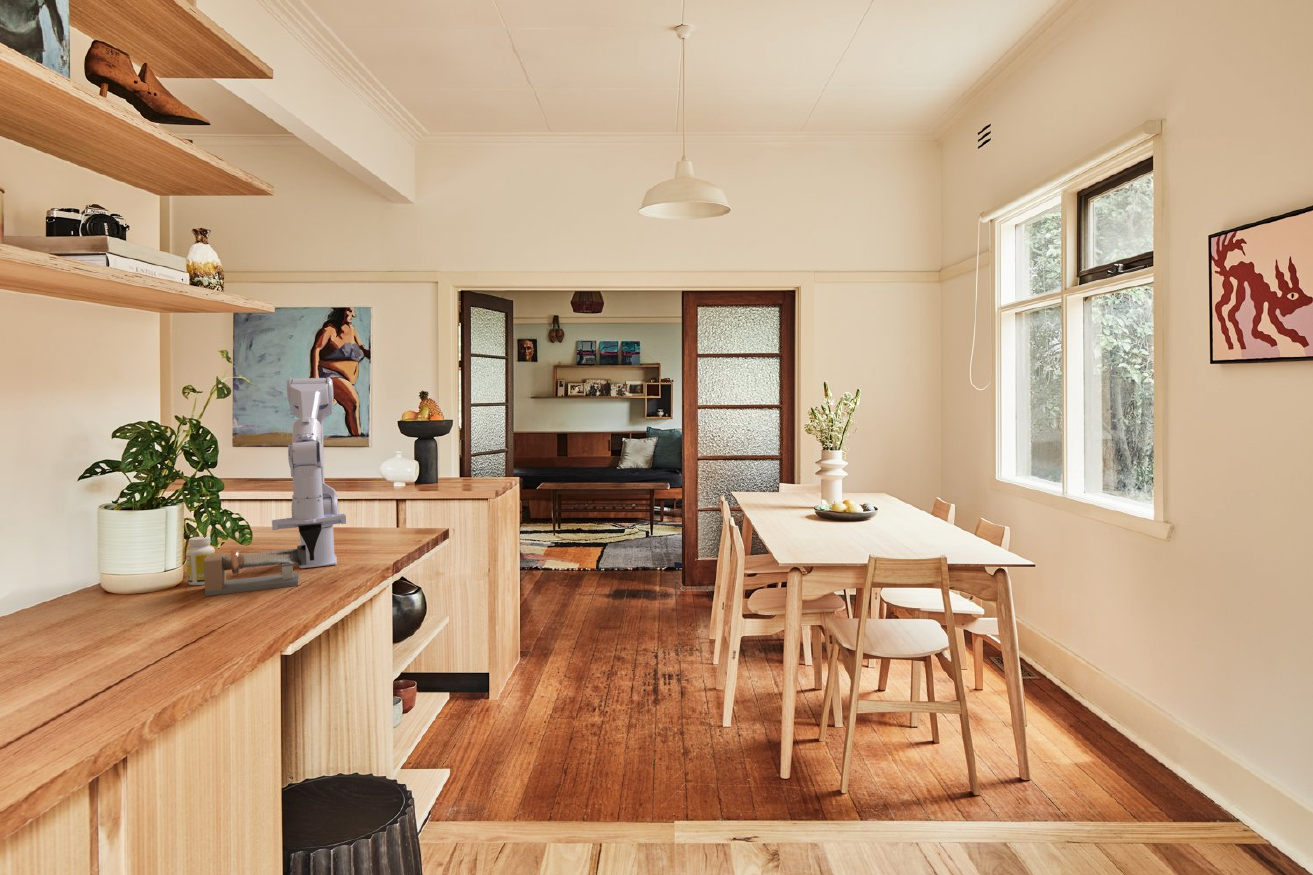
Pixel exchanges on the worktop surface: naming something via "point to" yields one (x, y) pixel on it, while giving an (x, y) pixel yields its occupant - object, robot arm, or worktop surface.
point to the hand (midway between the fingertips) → (311, 559)
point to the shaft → (264, 559)
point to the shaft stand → (220, 585)
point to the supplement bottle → (197, 559)
